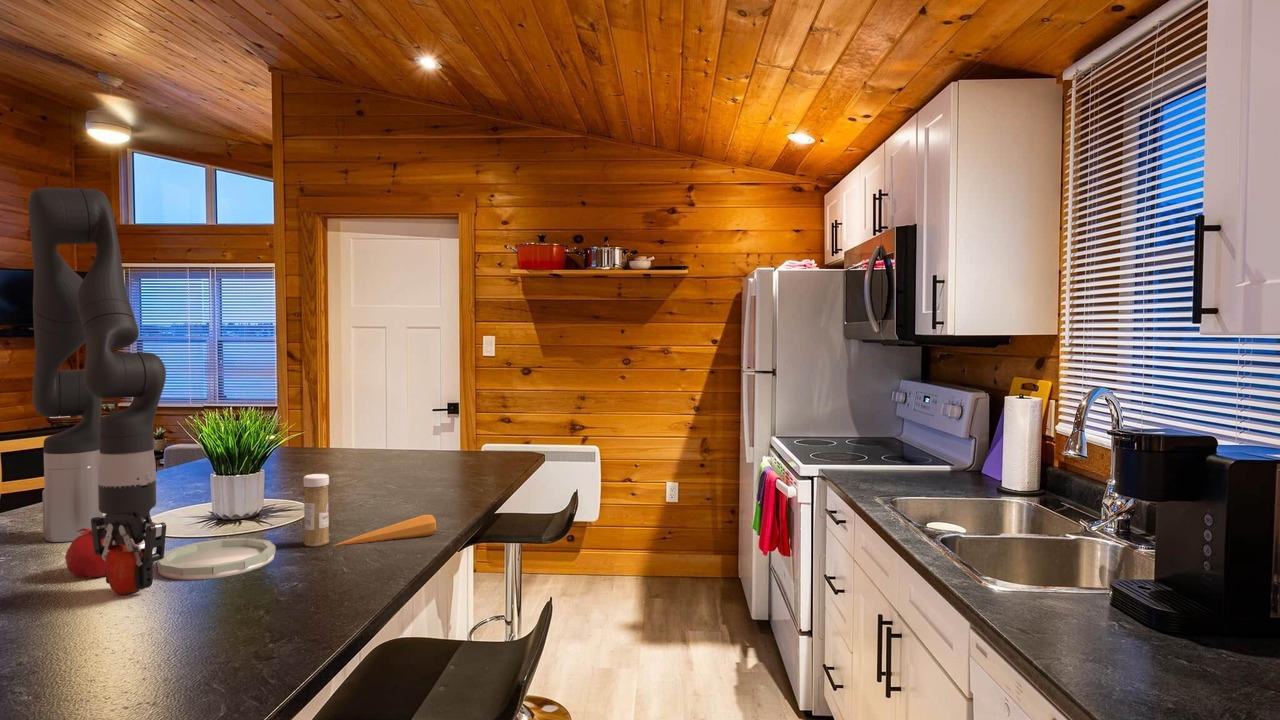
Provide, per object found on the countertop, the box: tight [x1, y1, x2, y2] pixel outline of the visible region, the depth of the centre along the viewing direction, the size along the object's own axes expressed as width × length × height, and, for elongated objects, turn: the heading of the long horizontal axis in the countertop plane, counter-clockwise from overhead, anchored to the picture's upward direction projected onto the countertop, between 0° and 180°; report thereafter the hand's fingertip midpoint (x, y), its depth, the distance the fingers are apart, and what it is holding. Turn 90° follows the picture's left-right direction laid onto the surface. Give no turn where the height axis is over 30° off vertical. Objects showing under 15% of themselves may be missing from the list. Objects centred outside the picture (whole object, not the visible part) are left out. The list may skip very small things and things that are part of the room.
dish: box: [156, 537, 277, 581], centre depth 134 cm, size 18×18×2 cm
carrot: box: [332, 514, 438, 547], centre depth 150 cm, size 20×4×4 cm, turn 119°
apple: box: [105, 543, 144, 596], centre depth 119 cm, size 6×6×8 cm
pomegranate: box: [64, 528, 106, 579], centre depth 128 cm, size 10×10×9 cm
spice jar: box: [303, 473, 330, 548], centre depth 146 cm, size 5×5×13 cm
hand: (129, 584), depth 119 cm, fingers closed on apple, 6 cm apart
